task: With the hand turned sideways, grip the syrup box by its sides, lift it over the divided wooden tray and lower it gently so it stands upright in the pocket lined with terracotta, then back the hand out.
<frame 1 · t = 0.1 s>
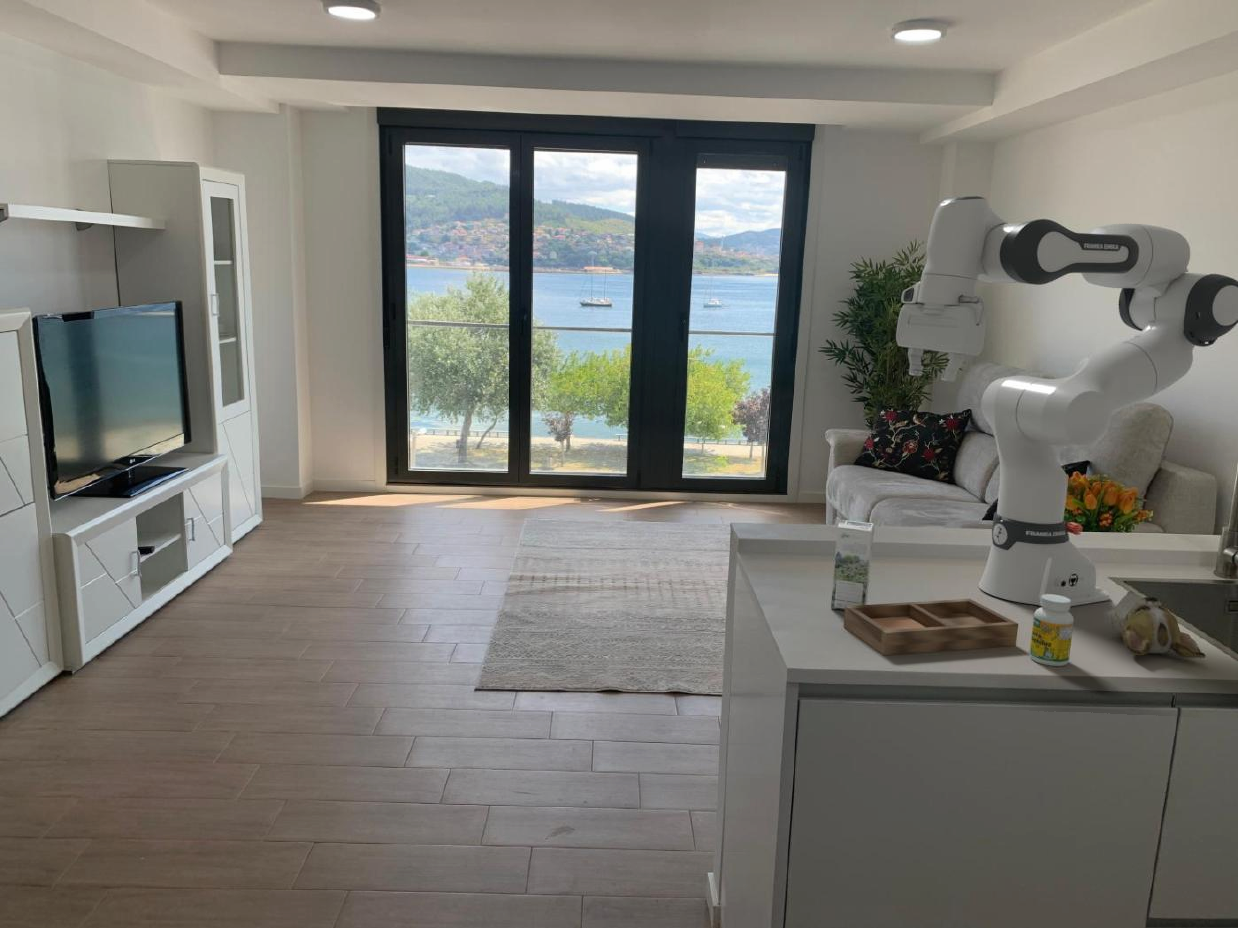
hand: (930, 378, 160), 39 cm above the table, fingers open, 8 cm apart
syrup box: (848, 607, 162), on the table
divided wooden tray: (928, 636, 149), on the table
tan plush toy: (1146, 651, 148), on the table
supplement bottle: (1048, 661, 142), on the table
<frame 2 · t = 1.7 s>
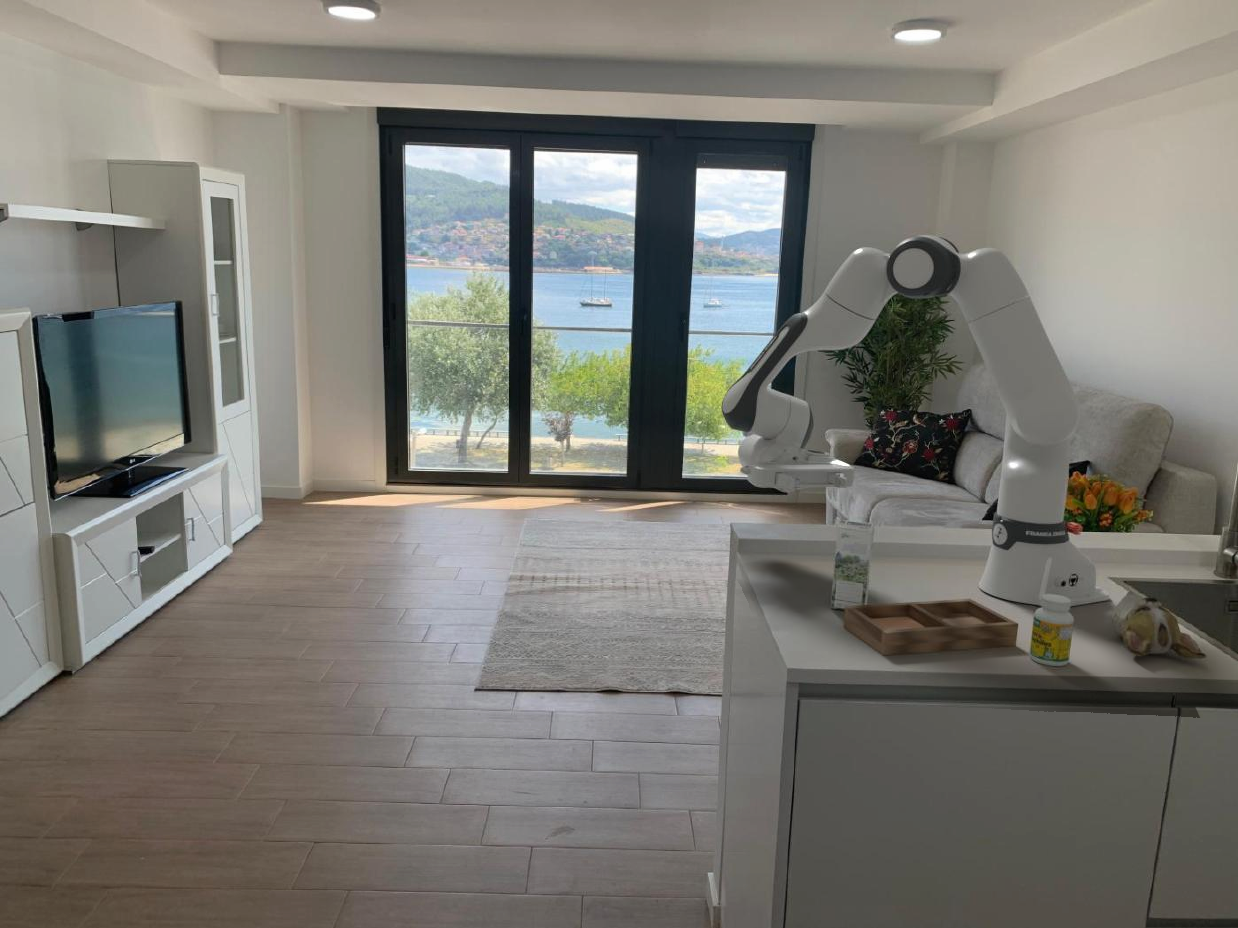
hand: (820, 483, 171), 19 cm above the table, fingers open, 8 cm apart
nothing on the table moved.
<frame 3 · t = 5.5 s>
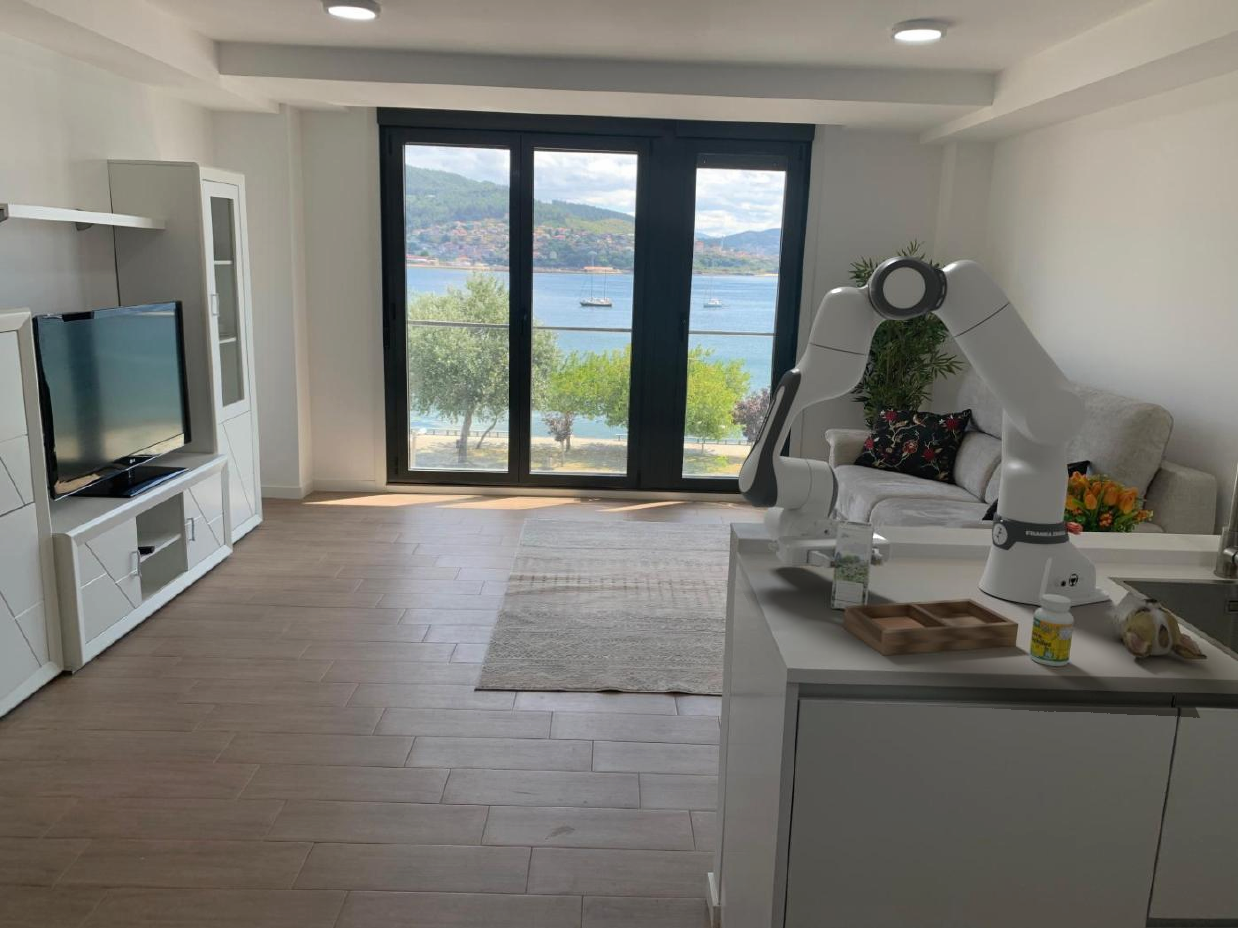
hand: (855, 562, 160), 8 cm above the table, fingers closed on syrup box, 8 cm apart
syrup box: (848, 607, 162), on the table, touching gripper
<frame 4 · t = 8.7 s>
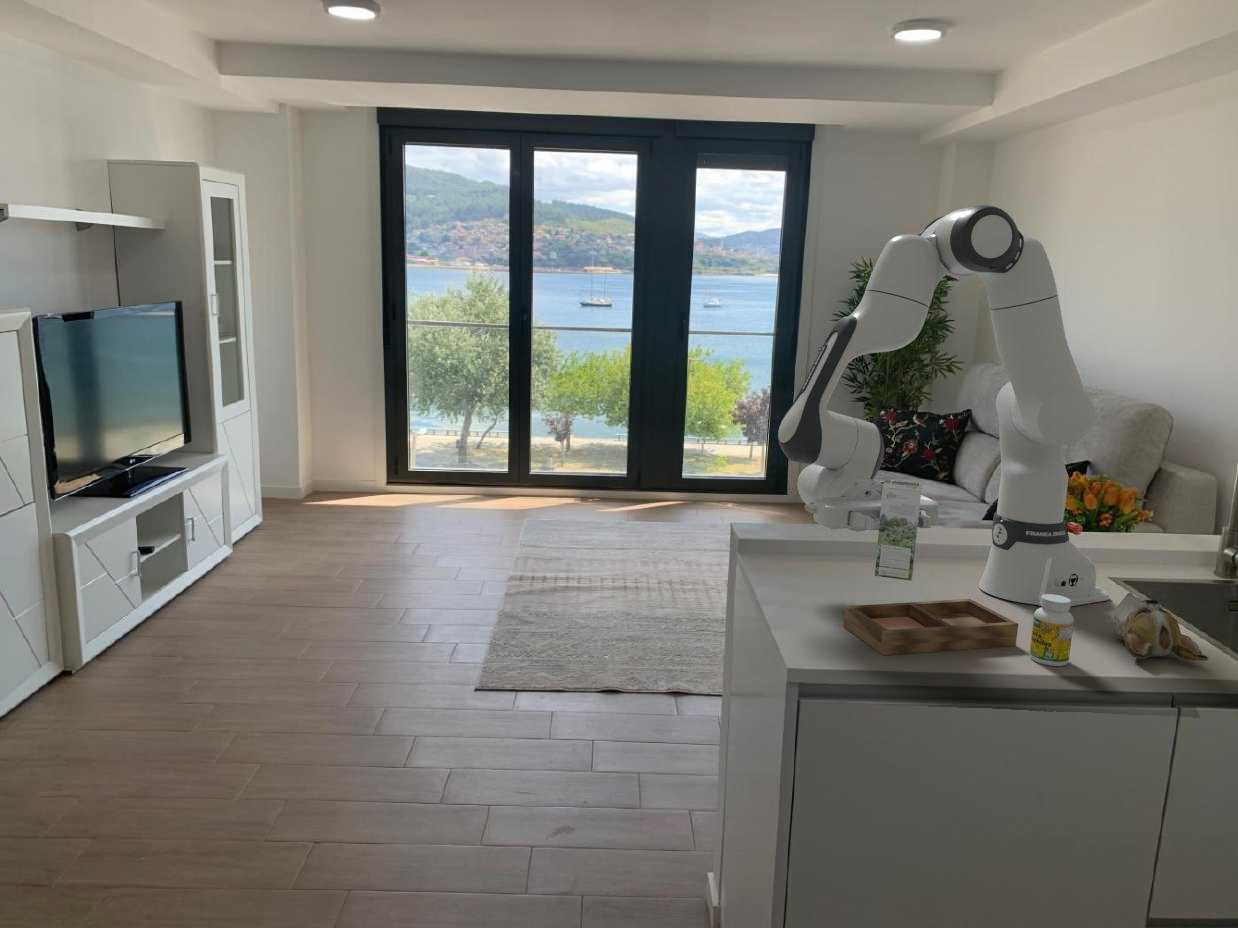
hand: (901, 524, 146), 18 cm above the table, fingers closed on syrup box, 7 cm apart
syrup box: (893, 575, 149), point 9 cm above the table, touching gripper
when the fingers open (10 cm above the table, at t = 11.4 s): syrup box stays where it is, resting on divided wooden tray.
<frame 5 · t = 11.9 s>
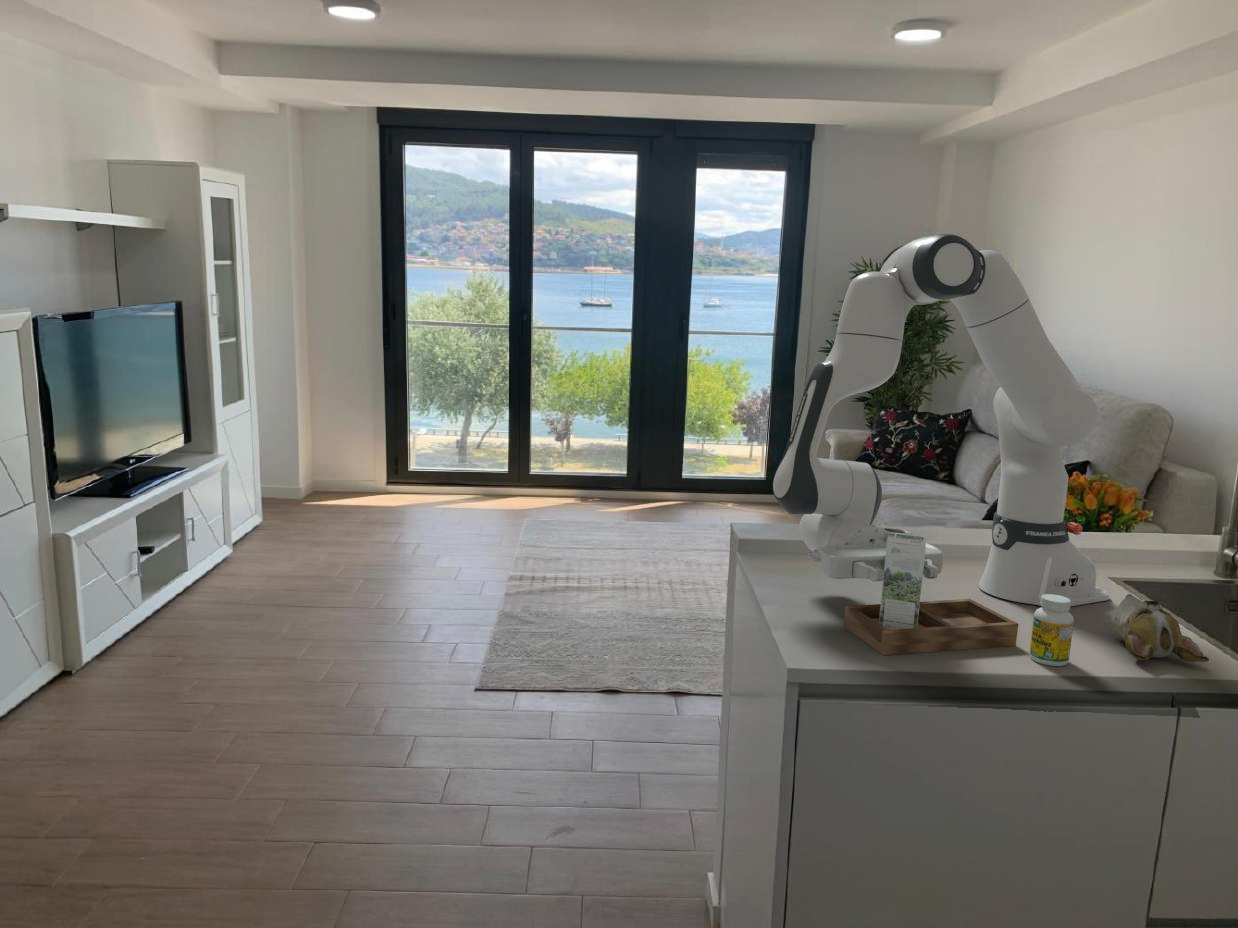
hand: (906, 575, 145), 10 cm above the table, fingers open, 8 cm apart
syrup box: (897, 628, 148), point 2 cm above the table, touching divided wooden tray
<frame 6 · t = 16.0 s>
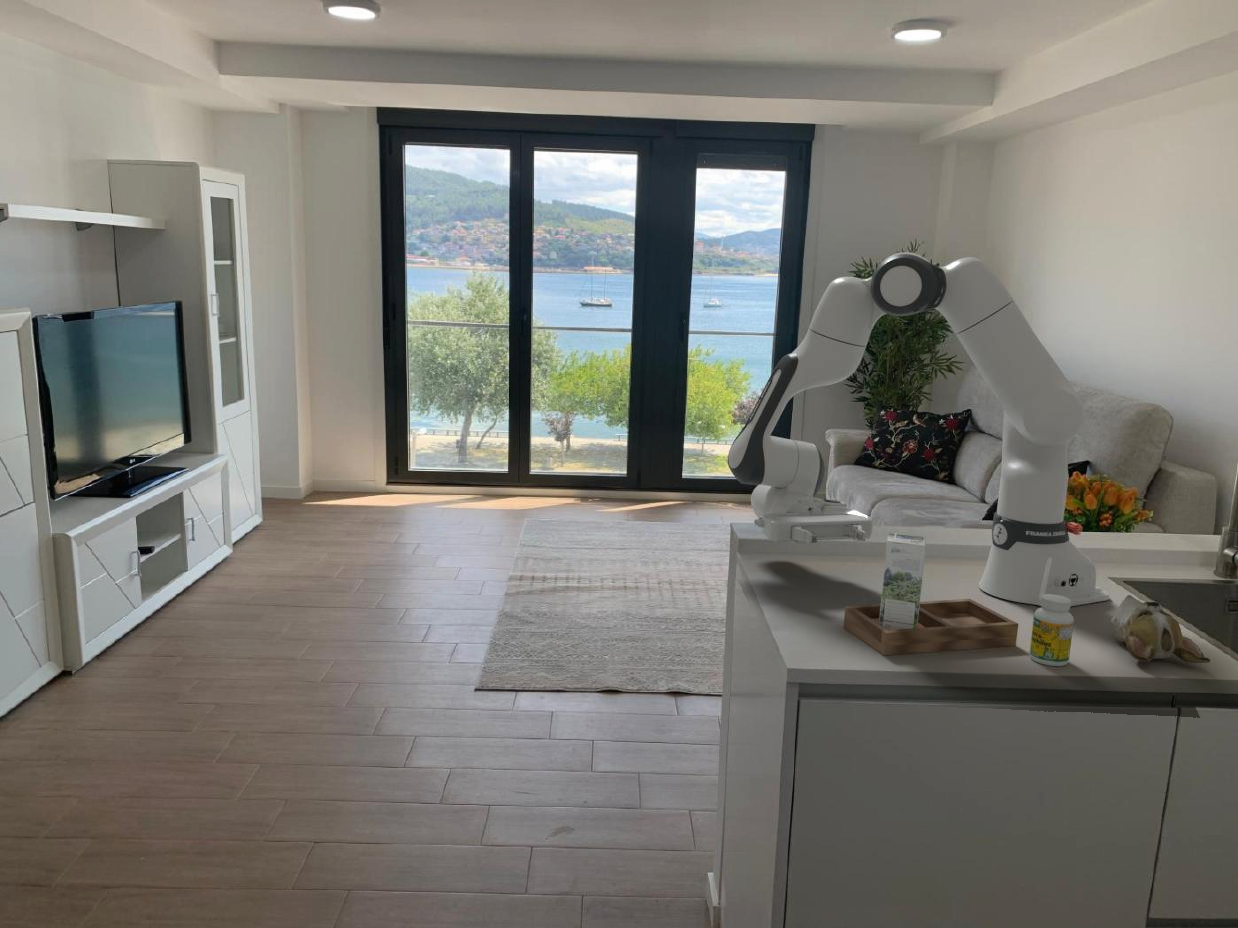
hand: (837, 537, 165), 11 cm above the table, fingers open, 8 cm apart
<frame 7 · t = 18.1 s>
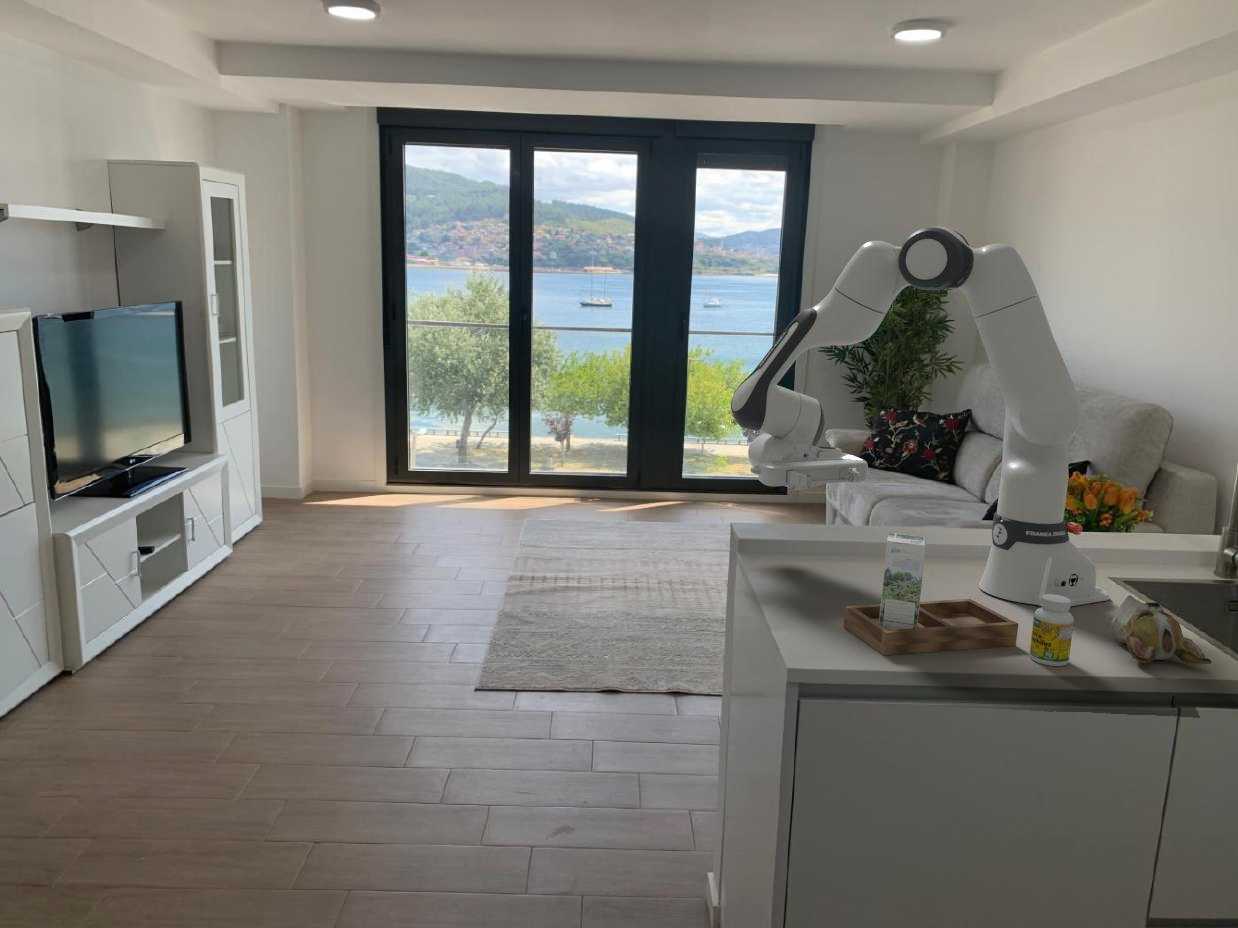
hand: (832, 479, 168), 20 cm above the table, fingers open, 8 cm apart
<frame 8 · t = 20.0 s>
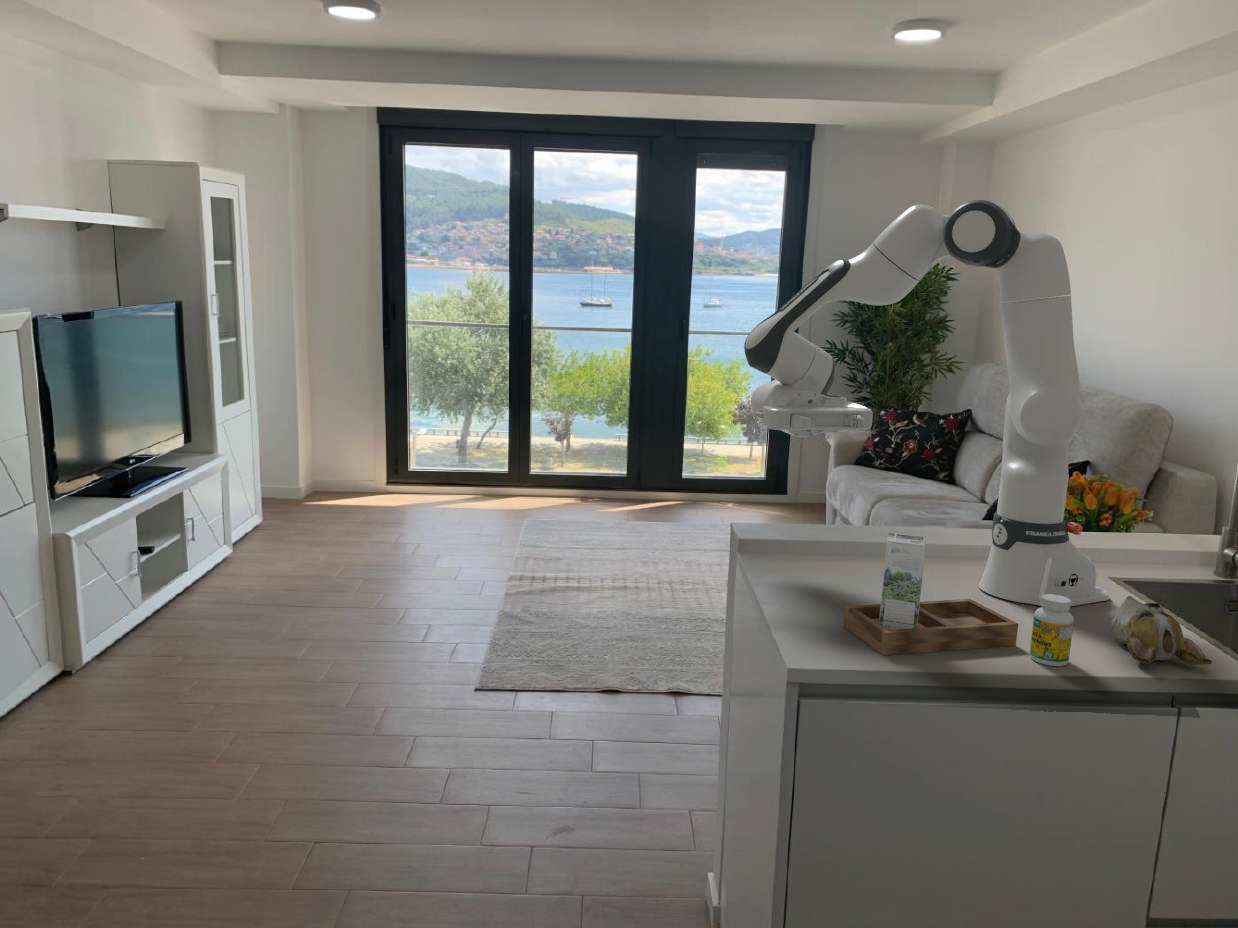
hand: (837, 424, 165), 30 cm above the table, fingers open, 8 cm apart
at the end: syrup box 0.1 cm from the target spot on the divided wooden tray, point 1.5 cm above the divided wooden tray's base; syrup box tilted 0°; the gripper is holding nothing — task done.
